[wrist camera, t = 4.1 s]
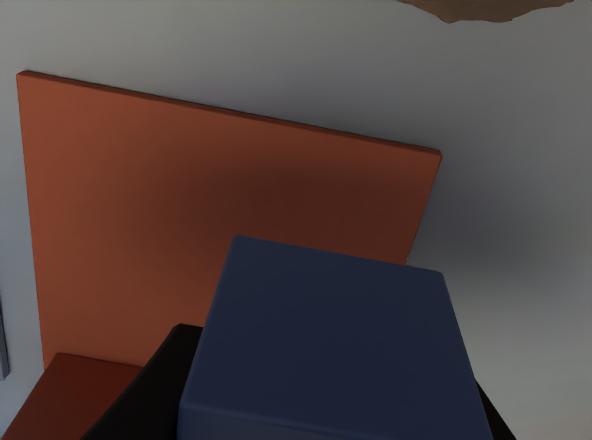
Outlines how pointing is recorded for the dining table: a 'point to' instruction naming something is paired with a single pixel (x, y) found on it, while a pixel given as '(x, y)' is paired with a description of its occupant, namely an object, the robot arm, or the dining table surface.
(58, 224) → the rust mat
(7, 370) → the blue mat
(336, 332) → the blue block
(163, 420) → the robot arm
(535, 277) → the dining table surface
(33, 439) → the rust block
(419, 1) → the food dish
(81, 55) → the dining table surface
